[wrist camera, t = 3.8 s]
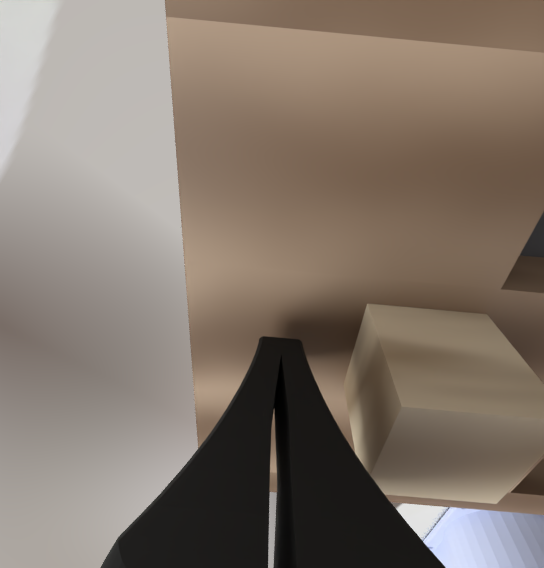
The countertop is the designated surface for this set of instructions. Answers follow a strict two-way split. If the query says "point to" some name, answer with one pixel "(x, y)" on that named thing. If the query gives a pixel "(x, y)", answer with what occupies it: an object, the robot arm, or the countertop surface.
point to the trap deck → (356, 182)
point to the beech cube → (442, 405)
